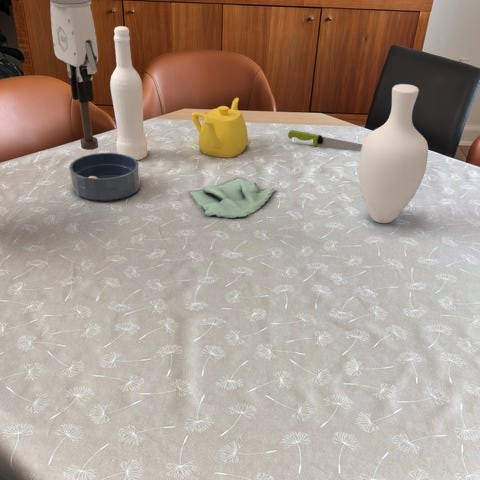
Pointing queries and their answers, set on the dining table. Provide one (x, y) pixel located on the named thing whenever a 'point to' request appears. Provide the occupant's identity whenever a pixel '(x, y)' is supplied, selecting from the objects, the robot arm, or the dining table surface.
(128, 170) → the bowl
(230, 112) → the teapot
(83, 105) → the muddler
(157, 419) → the dining table surface
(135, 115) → the bottle
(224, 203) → the cloth
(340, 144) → the kitchen knife
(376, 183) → the vase
